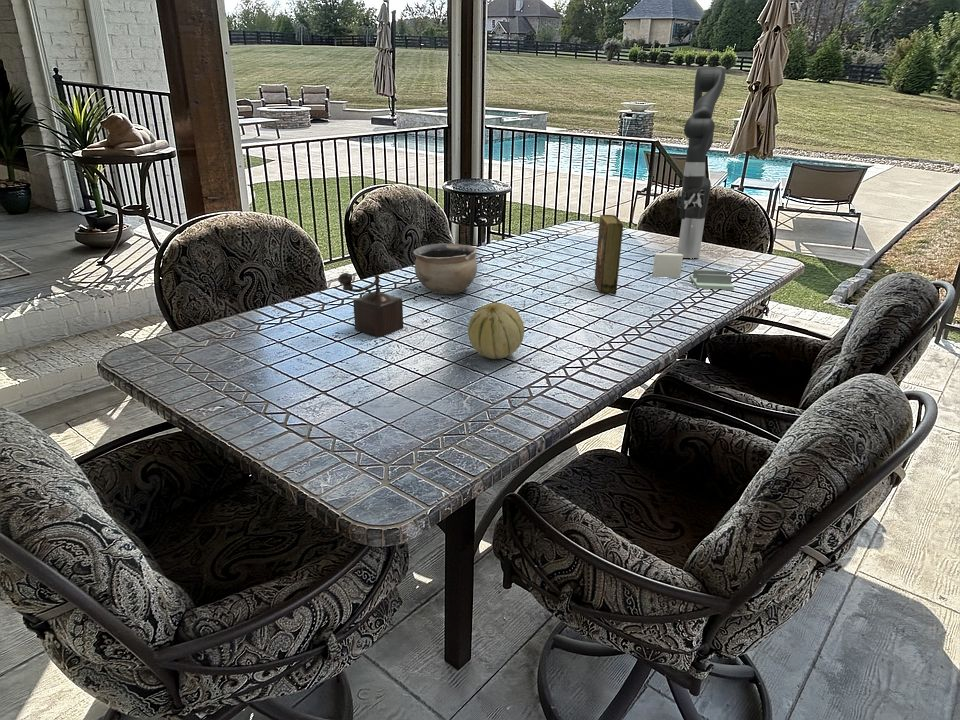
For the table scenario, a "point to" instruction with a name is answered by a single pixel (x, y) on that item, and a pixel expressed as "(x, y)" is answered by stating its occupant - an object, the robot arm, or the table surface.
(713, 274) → the dish rack
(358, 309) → the manual coffee grinder
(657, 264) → the cream rectangular prism
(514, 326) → the cantaloupe
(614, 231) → the book
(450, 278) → the ceramic bowl
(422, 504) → the table surface
